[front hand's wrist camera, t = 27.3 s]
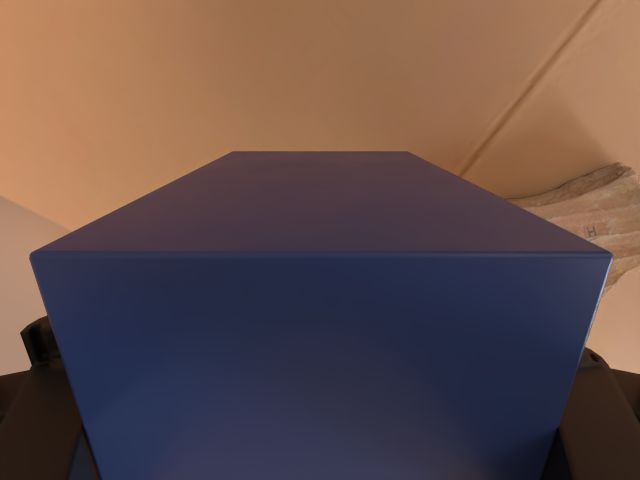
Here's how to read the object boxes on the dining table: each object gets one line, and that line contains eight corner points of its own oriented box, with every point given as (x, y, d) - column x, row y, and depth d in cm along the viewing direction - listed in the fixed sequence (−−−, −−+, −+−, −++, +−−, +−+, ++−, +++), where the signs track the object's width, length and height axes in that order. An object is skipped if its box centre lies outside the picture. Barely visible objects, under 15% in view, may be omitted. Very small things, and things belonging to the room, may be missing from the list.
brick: (393, 320, 18) (498, 619, 7) (246, 320, 18) (143, 619, 7) (408, 151, 15) (620, 253, 4) (231, 151, 15) (24, 252, 4)
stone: (517, 315, 32) (533, 331, 30) (469, 207, 29) (483, 216, 26) (660, 250, 30) (689, 262, 28) (628, 125, 27) (659, 126, 24)
